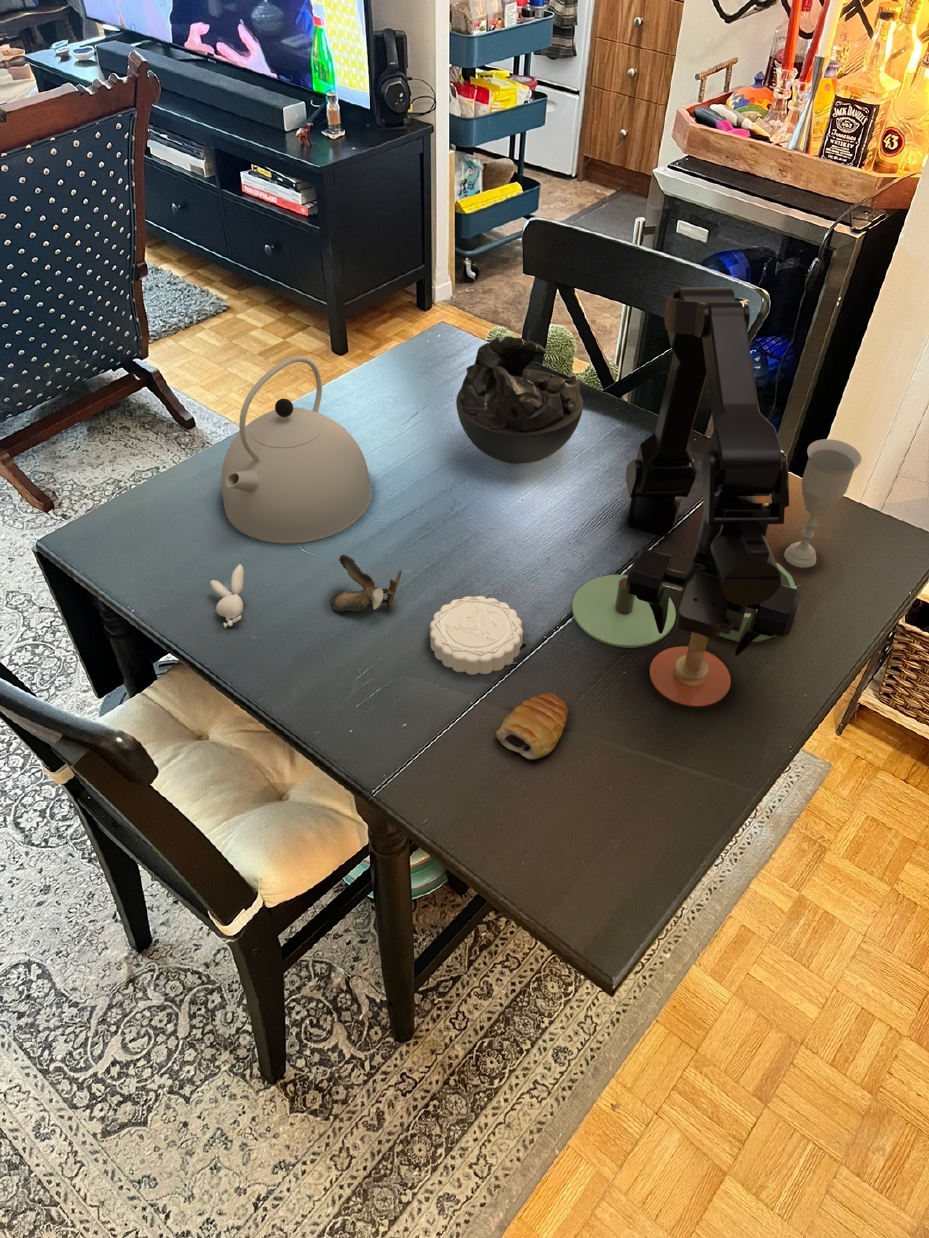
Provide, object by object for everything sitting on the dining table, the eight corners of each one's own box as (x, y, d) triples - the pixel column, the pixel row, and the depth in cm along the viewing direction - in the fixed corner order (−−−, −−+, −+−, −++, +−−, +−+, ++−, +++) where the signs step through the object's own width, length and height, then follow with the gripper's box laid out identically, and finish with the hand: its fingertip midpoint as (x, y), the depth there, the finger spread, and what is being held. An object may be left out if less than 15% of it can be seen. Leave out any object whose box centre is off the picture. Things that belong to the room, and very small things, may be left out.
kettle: (303, 571, 129) (280, 435, 114) (183, 522, 137) (146, 388, 122) (399, 481, 145) (390, 350, 129) (285, 441, 153) (264, 314, 137)
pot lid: (557, 633, 120) (560, 602, 117) (589, 570, 129) (593, 539, 126) (659, 663, 116) (666, 632, 113) (685, 596, 125) (692, 565, 122)
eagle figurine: (403, 577, 127) (341, 559, 127) (402, 564, 120) (336, 545, 120) (387, 629, 125) (325, 611, 125) (385, 619, 118) (318, 599, 118)
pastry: (533, 693, 113) (535, 673, 110) (581, 718, 110) (584, 697, 107) (491, 743, 107) (492, 722, 105) (540, 770, 105) (542, 749, 102)
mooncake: (535, 627, 121) (536, 607, 119) (500, 689, 113) (501, 669, 111) (453, 602, 125) (453, 582, 122) (414, 660, 117) (413, 640, 114)
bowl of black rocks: (532, 409, 160) (538, 307, 147) (602, 464, 148) (615, 358, 135) (434, 442, 153) (431, 338, 140) (499, 504, 141) (503, 396, 127)
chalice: (825, 579, 128) (864, 473, 115) (775, 573, 129) (808, 467, 116) (821, 547, 133) (858, 442, 120) (773, 541, 134) (805, 436, 121)
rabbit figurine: (206, 631, 121) (201, 575, 123) (228, 636, 124) (223, 582, 127) (239, 617, 118) (233, 561, 121) (260, 622, 121) (254, 568, 124)
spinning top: (639, 694, 113) (640, 690, 112) (660, 641, 119) (661, 637, 119) (719, 719, 110) (721, 715, 109) (736, 664, 116) (738, 659, 116)
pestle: (670, 680, 113) (683, 626, 107) (678, 659, 116) (691, 605, 109) (702, 690, 112) (717, 636, 106) (709, 668, 115) (724, 614, 108)
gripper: (619, 563, 96) (604, 664, 107) (799, 612, 91) (764, 713, 102) (648, 505, 104) (630, 604, 115) (816, 547, 98) (781, 647, 109)
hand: (698, 642), depth 110 cm, fingers open, 9 cm apart
